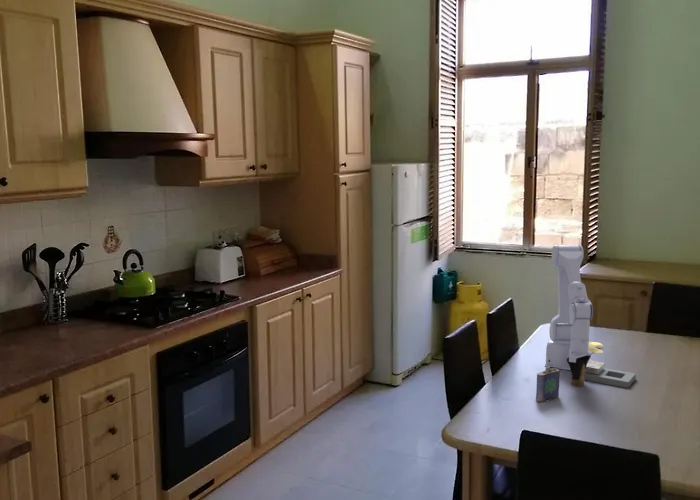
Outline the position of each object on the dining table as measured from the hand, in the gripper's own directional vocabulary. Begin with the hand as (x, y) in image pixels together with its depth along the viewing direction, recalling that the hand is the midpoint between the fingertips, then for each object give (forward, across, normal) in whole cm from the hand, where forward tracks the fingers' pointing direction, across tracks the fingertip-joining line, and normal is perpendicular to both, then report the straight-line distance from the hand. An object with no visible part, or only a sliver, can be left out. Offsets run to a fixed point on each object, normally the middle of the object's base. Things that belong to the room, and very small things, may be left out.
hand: (578, 377), depth 223 cm
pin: (+2, 0, 0) cm, 2 cm away
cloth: (+3, +42, +11) cm, 43 cm away
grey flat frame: (+2, +11, -6) cm, 13 cm away
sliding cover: (0, +11, -1) cm, 11 cm away
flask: (+3, -18, +4) cm, 19 cm away
